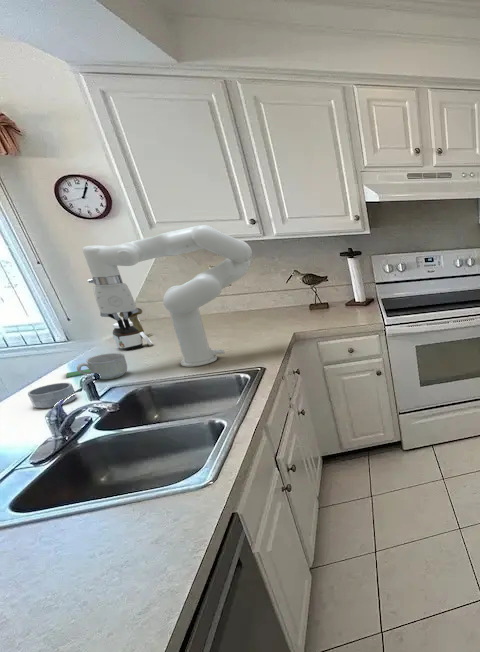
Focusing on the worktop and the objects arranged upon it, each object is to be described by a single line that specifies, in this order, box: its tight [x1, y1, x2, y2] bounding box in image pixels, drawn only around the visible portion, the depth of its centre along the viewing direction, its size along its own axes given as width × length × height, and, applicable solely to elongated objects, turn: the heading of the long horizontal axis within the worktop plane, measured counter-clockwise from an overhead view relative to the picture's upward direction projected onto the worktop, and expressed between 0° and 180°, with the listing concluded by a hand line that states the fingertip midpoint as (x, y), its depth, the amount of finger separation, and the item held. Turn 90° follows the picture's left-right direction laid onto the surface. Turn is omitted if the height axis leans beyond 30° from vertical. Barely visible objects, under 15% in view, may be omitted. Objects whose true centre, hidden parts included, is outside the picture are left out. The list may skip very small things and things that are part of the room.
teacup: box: [76, 352, 128, 380], centre depth 155 cm, size 14×11×8 cm
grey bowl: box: [27, 382, 77, 409], centre depth 136 cm, size 10×10×5 cm
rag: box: [65, 368, 91, 379], centre depth 160 cm, size 7×5×1 cm
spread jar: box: [112, 321, 154, 351], centre depth 189 cm, size 12×11×12 cm
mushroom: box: [118, 307, 145, 338], centre depth 203 cm, size 9×9×15 cm
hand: (125, 329), depth 156 cm, fingers closed
